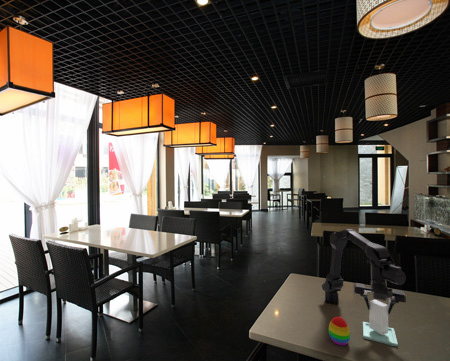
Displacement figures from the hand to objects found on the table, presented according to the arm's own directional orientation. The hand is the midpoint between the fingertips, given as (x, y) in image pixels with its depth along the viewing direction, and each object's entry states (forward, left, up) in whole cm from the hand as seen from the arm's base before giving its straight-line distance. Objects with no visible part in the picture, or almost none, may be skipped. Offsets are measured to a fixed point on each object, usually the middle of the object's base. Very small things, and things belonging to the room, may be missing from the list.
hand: (378, 311), depth 108 cm
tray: (0, 0, -10) cm, 10 cm away
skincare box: (0, 0, -8) cm, 8 cm away
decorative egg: (-15, -13, -10) cm, 22 cm away
